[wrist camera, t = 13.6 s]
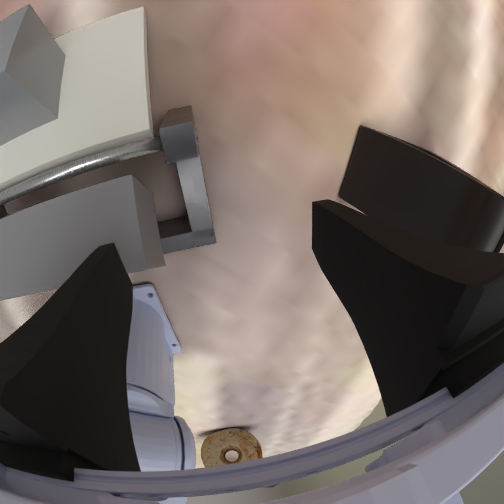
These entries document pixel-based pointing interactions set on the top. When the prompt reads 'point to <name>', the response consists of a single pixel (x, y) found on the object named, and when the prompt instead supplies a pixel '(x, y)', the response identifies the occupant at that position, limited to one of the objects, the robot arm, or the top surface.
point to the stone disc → (229, 447)
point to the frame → (175, 150)
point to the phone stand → (422, 193)
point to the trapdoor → (79, 146)
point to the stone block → (28, 74)
